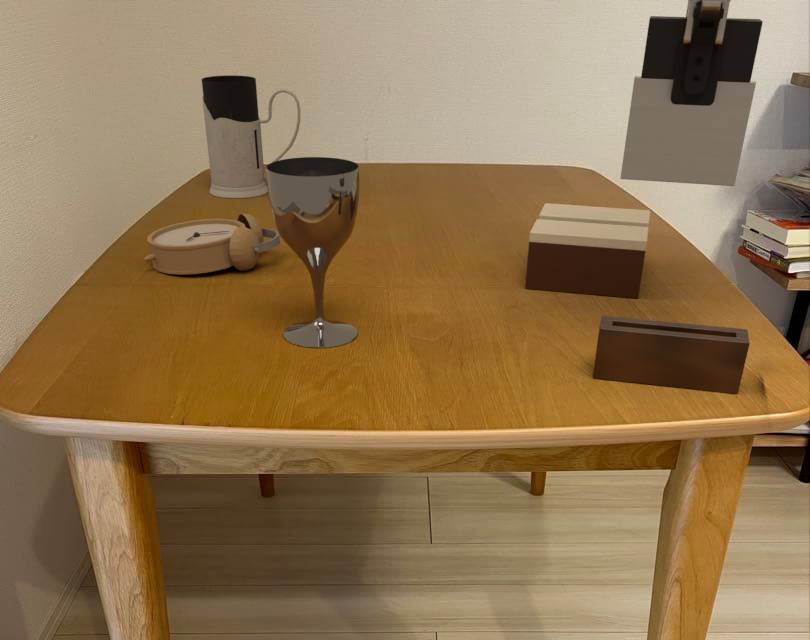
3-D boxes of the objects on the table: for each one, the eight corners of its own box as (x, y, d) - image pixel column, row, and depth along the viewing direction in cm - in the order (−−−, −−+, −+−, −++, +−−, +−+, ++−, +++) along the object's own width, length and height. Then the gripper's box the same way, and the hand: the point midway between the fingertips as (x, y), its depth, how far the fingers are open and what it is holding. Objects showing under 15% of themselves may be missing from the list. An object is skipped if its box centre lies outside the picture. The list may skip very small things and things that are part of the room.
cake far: (642, 263, 103) (650, 210, 100) (640, 277, 99) (649, 222, 95) (540, 254, 106) (545, 202, 102) (534, 268, 101) (538, 214, 98)
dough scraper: (733, 183, 72) (767, 19, 65) (735, 188, 70) (770, 21, 63) (620, 176, 73) (643, 15, 67) (619, 181, 72) (642, 17, 65)
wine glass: (275, 349, 81) (261, 176, 72) (282, 318, 87) (270, 156, 79) (361, 349, 81) (358, 176, 72) (362, 318, 87) (359, 157, 79)
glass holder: (216, 184, 135) (204, 74, 127) (308, 185, 135) (302, 75, 126) (203, 197, 128) (190, 82, 120) (300, 199, 128) (293, 84, 119)
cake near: (639, 282, 97) (648, 227, 94) (637, 298, 93) (647, 241, 90) (532, 273, 100) (536, 218, 96) (524, 288, 95) (529, 232, 92)
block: (735, 379, 76) (747, 328, 73) (737, 394, 73) (749, 342, 71) (595, 364, 78) (602, 315, 76) (592, 378, 76) (599, 328, 73)
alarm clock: (153, 224, 105) (276, 199, 104) (166, 264, 108) (286, 241, 107) (135, 251, 96) (270, 225, 95) (150, 295, 98) (281, 269, 98)
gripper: (821, -229, 51) (749, 120, 61) (790, -194, 64) (735, 90, 74) (687, -225, 52) (639, 115, 63) (683, -192, 65) (643, 86, 75)
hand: (691, 99), depth 68 cm, fingers closed on dough scraper, 2 cm apart
